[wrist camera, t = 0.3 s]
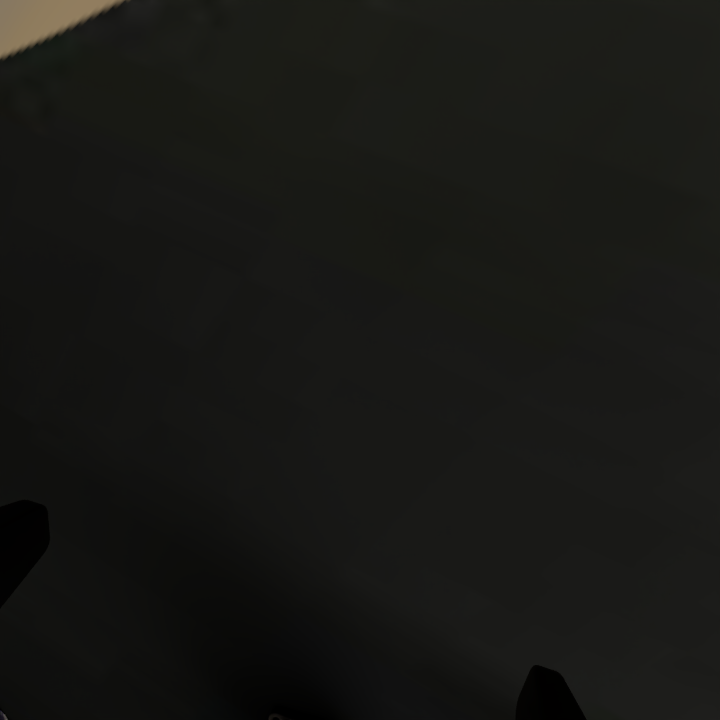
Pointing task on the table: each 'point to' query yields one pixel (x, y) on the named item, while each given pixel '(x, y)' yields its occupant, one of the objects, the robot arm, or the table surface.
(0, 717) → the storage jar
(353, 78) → the table surface
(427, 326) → the table surface
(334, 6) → the table surface
